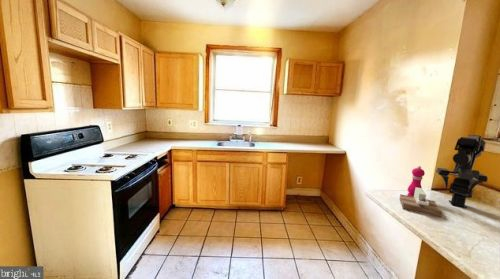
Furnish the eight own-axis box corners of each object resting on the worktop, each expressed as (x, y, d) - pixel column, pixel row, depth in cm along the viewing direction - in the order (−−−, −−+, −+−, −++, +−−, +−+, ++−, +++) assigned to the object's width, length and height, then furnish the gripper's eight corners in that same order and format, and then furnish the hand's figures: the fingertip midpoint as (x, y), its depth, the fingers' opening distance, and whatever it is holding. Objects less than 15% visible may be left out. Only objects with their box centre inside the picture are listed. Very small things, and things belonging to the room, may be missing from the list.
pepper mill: (403, 195, 134) (408, 164, 130) (411, 194, 136) (417, 163, 133) (415, 200, 127) (421, 168, 124) (423, 199, 129) (430, 167, 126)
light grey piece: (412, 196, 125) (414, 187, 124) (421, 198, 123) (423, 188, 122) (417, 207, 113) (419, 196, 112) (427, 209, 111) (430, 198, 110)
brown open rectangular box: (399, 199, 129) (401, 187, 127) (433, 205, 121) (436, 193, 120) (402, 209, 116) (405, 196, 115) (440, 217, 109) (443, 203, 108)
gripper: (445, 162, 109) (439, 191, 112) (497, 168, 100) (488, 200, 103) (438, 157, 119) (433, 184, 122) (485, 163, 110) (478, 191, 113)
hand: (457, 189), depth 115 cm, fingers open, 9 cm apart
